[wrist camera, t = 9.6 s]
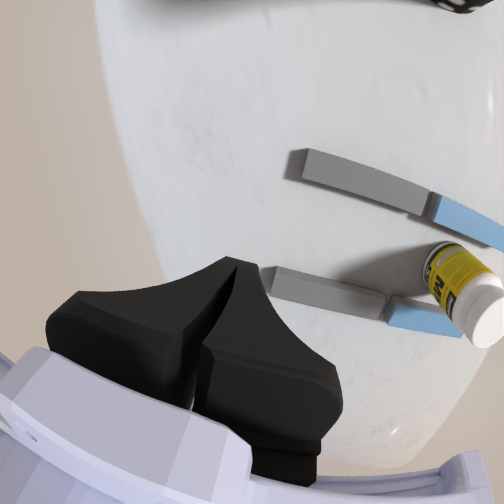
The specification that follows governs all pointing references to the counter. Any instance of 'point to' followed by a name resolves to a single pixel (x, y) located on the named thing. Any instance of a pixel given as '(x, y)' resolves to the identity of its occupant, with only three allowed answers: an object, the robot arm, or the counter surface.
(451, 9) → the spotted tube
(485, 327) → the supplement bottle
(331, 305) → the grey and blue rails
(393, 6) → the counter surface
